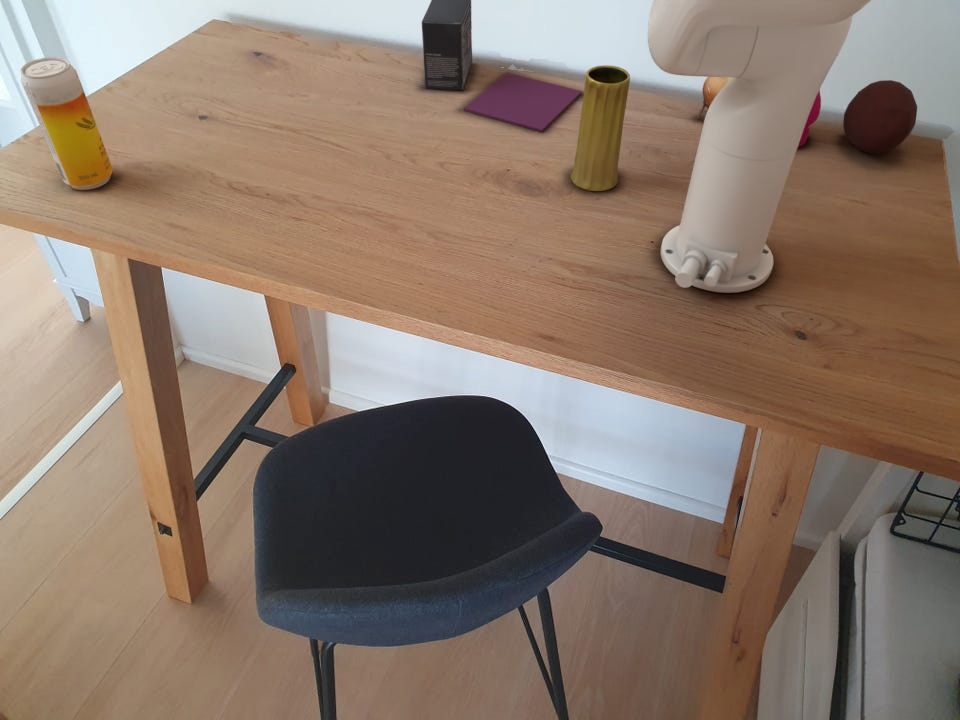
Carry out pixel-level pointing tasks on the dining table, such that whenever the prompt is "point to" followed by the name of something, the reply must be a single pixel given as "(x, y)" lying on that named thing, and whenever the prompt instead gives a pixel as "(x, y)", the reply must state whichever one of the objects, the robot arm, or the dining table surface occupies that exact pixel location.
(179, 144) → the dining table surface
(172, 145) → the dining table surface
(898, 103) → the dark brown egg
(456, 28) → the small box
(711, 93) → the pot
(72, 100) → the beer can
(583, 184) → the vase
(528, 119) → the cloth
